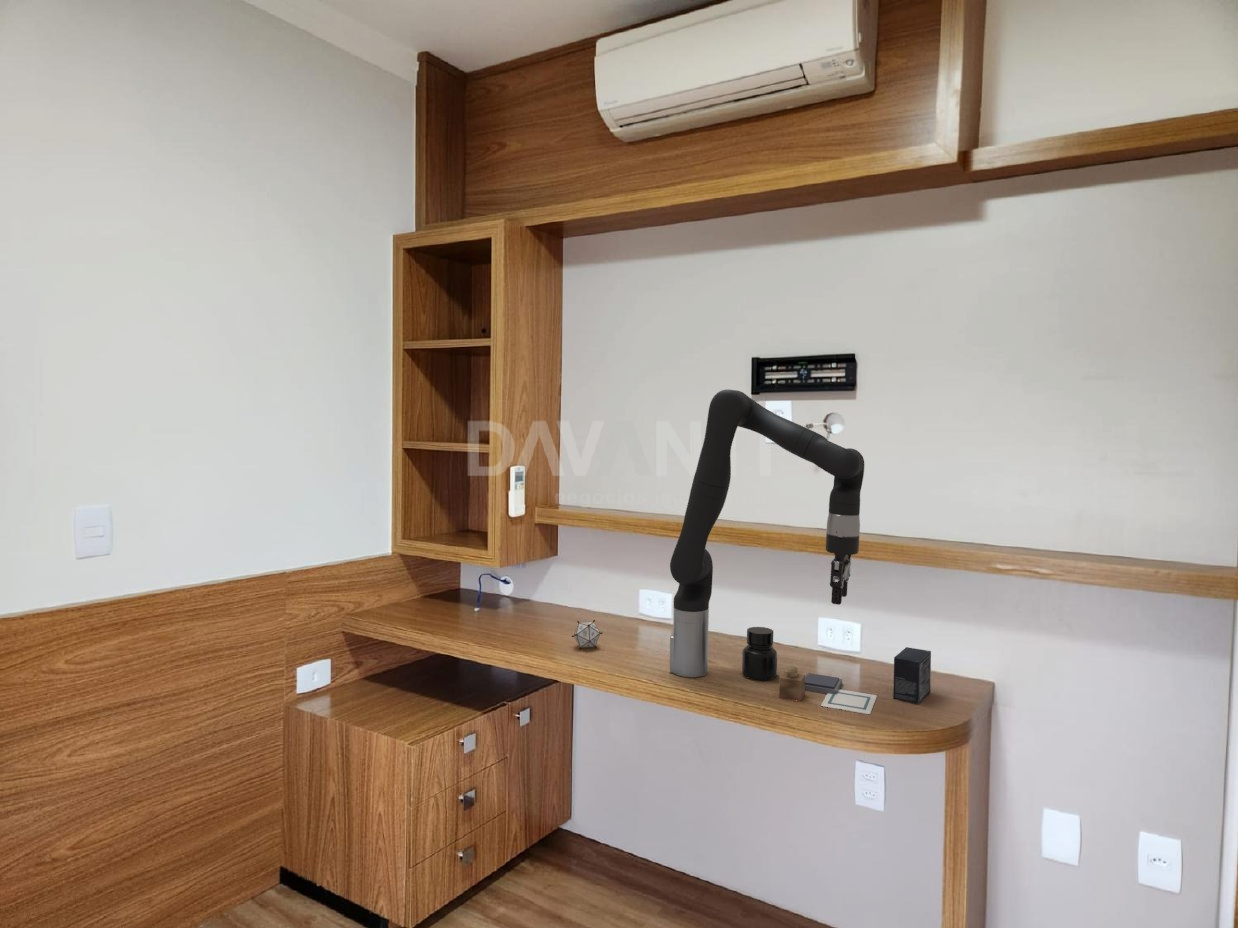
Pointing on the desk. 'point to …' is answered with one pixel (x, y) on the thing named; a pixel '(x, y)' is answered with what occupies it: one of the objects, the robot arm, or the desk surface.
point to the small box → (912, 675)
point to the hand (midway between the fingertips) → (839, 599)
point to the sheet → (850, 701)
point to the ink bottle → (759, 655)
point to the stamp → (792, 685)
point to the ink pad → (822, 683)
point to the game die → (587, 634)
